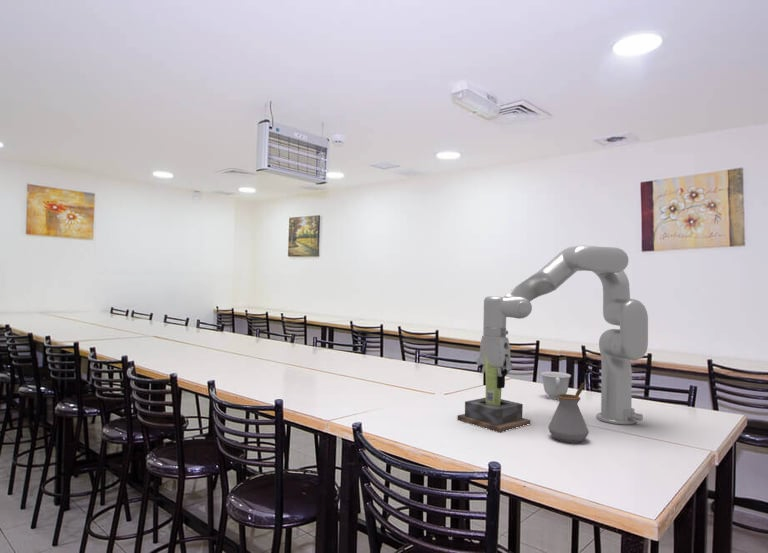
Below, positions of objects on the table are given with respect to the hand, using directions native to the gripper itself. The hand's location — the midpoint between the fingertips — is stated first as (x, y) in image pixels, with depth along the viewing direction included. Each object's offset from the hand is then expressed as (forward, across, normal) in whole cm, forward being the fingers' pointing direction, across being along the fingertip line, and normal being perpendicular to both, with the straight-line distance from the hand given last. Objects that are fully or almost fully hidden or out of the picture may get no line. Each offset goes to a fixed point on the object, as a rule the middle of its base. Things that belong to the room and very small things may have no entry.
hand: (493, 385), depth 165 cm
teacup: (+12, +8, -50) cm, 52 cm away
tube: (+7, 0, 0) cm, 7 cm away
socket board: (+12, 0, 0) cm, 12 cm away
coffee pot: (+12, -24, -9) cm, 28 cm away
